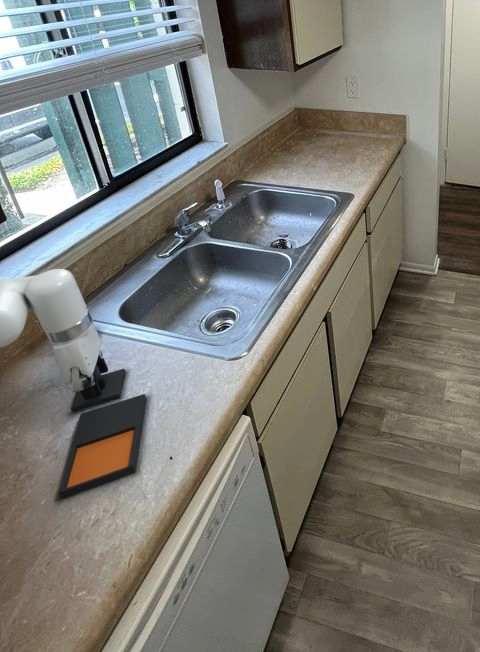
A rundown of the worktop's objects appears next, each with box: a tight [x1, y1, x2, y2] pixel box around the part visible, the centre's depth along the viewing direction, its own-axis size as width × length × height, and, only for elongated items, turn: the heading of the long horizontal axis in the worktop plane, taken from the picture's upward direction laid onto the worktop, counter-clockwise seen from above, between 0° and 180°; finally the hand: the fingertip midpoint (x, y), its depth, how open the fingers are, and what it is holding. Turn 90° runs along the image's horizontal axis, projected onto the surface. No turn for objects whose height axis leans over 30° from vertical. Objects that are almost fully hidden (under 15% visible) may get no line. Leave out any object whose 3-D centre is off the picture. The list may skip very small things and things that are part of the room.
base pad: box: [57, 393, 148, 499], centre depth 87 cm, size 12×16×2 cm
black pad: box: [70, 365, 127, 413], centre depth 96 cm, size 9×7×7 cm
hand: (97, 384), depth 97 cm, fingers open, 5 cm apart
